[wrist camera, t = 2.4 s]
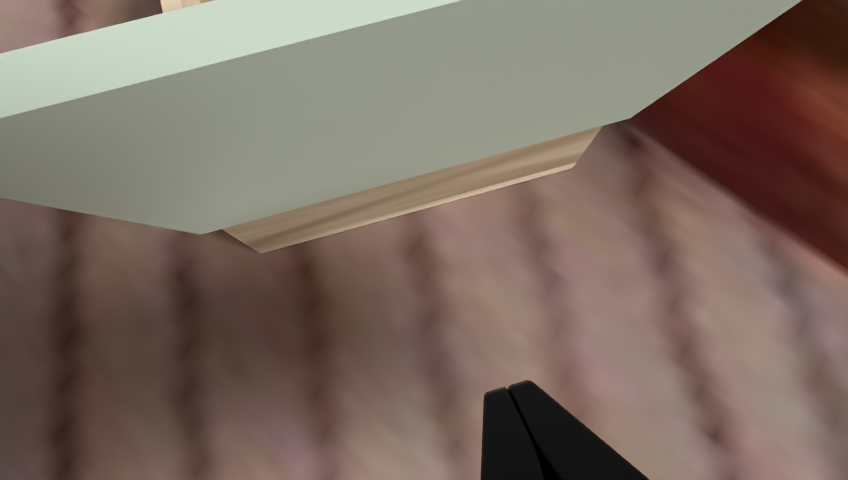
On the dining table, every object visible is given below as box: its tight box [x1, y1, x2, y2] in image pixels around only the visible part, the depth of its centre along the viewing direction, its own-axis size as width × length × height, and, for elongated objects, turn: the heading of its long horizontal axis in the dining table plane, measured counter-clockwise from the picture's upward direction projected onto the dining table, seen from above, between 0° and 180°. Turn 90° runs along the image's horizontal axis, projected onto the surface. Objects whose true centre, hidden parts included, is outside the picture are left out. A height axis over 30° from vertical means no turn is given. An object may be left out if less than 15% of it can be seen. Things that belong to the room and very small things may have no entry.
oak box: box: [161, 0, 602, 254], centre depth 18 cm, size 9×12×5 cm
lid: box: [0, 0, 802, 235], centre depth 10 cm, size 9×12×1 cm
